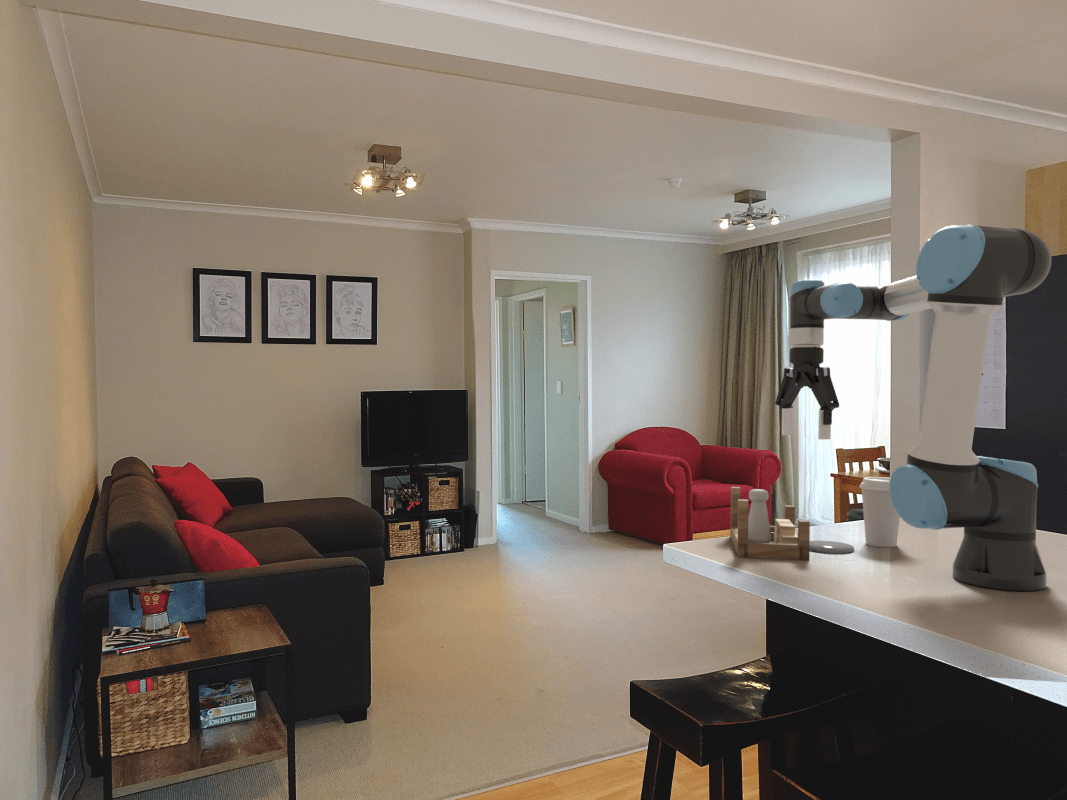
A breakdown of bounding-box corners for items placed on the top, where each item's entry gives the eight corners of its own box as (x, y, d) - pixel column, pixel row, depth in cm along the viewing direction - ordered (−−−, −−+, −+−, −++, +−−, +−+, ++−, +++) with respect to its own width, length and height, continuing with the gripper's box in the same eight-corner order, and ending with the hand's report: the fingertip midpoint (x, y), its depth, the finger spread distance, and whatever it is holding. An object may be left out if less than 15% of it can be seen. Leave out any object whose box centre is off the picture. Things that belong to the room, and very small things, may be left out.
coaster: (859, 554, 169) (859, 551, 169) (806, 552, 171) (806, 549, 171) (848, 544, 180) (848, 541, 180) (798, 542, 182) (798, 539, 182)
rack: (809, 560, 164) (810, 502, 163) (738, 557, 166) (738, 500, 166) (793, 539, 185) (793, 488, 185) (730, 536, 188) (730, 486, 187)
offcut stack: (798, 555, 168) (798, 529, 168) (782, 554, 168) (782, 528, 168) (788, 542, 181) (789, 518, 181) (773, 541, 182) (774, 517, 182)
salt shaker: (741, 548, 175) (742, 490, 174) (747, 543, 180) (748, 487, 179) (768, 551, 172) (769, 492, 172) (773, 546, 177) (774, 488, 177)
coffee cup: (911, 549, 175) (913, 482, 175) (868, 548, 175) (869, 481, 175) (893, 540, 185) (894, 476, 184) (852, 539, 185) (853, 476, 184)
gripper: (857, 345, 173) (855, 440, 174) (787, 349, 197) (786, 433, 198) (828, 344, 171) (827, 441, 172) (761, 348, 195) (760, 433, 195)
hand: (805, 437), depth 185 cm, fingers open, 13 cm apart
